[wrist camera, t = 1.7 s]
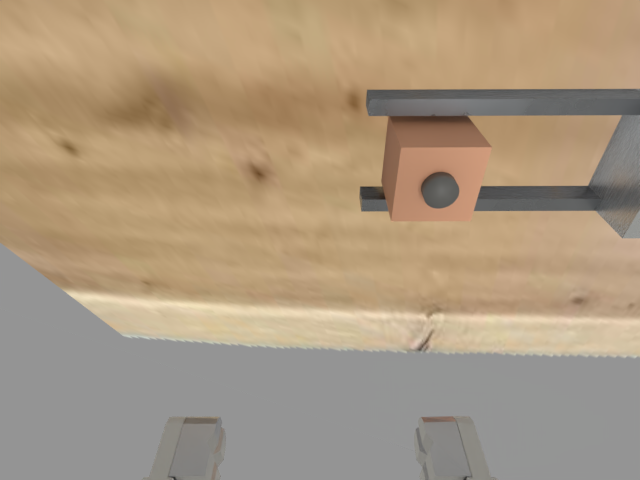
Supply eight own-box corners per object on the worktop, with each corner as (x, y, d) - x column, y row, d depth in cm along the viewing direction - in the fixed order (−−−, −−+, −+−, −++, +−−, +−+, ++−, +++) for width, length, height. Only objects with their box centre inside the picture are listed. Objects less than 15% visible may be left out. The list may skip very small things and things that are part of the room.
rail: (359, 197, 30) (365, 239, 26) (366, 89, 25) (375, 120, 21) (608, 197, 30) (652, 238, 26) (667, 88, 25) (732, 119, 21)
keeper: (381, 181, 29) (393, 229, 24) (388, 113, 25) (403, 154, 21) (449, 181, 29) (474, 228, 24) (465, 113, 25) (497, 153, 21)
